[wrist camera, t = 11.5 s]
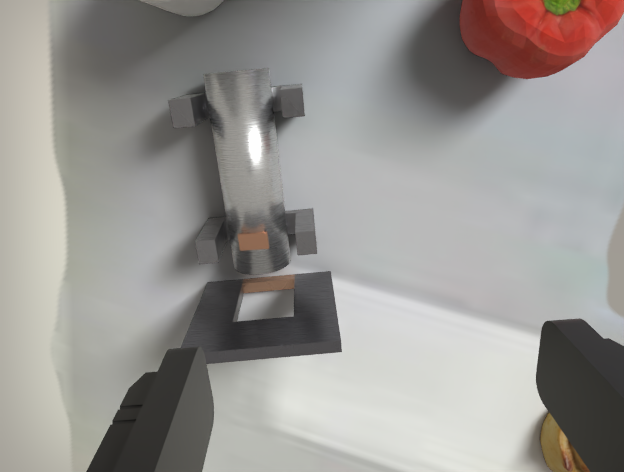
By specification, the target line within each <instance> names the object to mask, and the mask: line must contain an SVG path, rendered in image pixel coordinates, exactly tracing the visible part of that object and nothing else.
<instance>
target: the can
mask: <svg viewBox="0 0 624 472" xmlns="http://www.w3.org/2000/svg"><path fill="white" fill-rule="evenodd" d="M139 1H142V2H145V3H147V4H150V5H153V6H155V7H158V8H161V9H163V10H166V11H169V12H172V13H175V14H178V15H182V16H185V17H186V16H201V15H203V14H206V13H208V12H210V11H212V10H214V9H216V8H217V7H218V6H219V5H220V4H221V3H222V2H223V1H224V0H139Z"/></svg>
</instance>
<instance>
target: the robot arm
mask: <svg viewBox="0 0 624 472" xmlns="http://www.w3.org/2000/svg"><path fill="white" fill-rule="evenodd" d="M536 384H537V389H538V393H539V396H540V398H541V400H542V402H543V404H544V405H545V407H546V408H547V410H548V411H549V413H550V414H551V416H552V417H553V418H554V420H555V421H556V423H557V424H558V426H559V427H560V429H561V430H562V431H563V433H564V434H565V436H566V437H567V439H568V440H569V442H570V443H571V445H572V446H573V447H574V449H575V450H576V452H577V453H578V455H579V456H580V458H581V459H582V461H583V462H584V463H585V465H586V466H587V468H588V469H589V471H590V472H624V346H622V345H620V344H618V343H617V342H615V341H613V340H611V339H609V338H608V339H603V338H602V337H601V336H600V335H599V334H598V333H597V332H596V331H595V330H594V329H593V328H592V327H591V326H590V325H589V324H588V323H587V322H585V321H584V320H582V319H567V320H554V321H546V322H545V323H544V324H543V327H542V331H541V339H540V347H539V355H538V364H537V372H536ZM213 420H214V403H213V396H212V391H211V386H210V381H209V375H208V370H207V365H206V360H205V355H204V351H203V349H202V347H190V348H177V349H169V350H168V351H167V352H166V354H165V357H164V359H163V361H162V363H161V366H160V368H159V370H158V372H148V373H145V374H144V375H143V376H142V377H141V378H140V379H139V380H138V381H137V382H135V383H134V384H133V385H132V386H131V387H130V388H129V390H128V392H127V394H126V396H125V398H124V399H123V401H122V403H121V405H120V410H118V411H117V413H116V415H115V417H114V419H113V424H112V425H110V427H109V429H108V431H107V433H106V435H105V437H104V438H103V440H102V442H101V444H100V446H99V448H98V450H97V452H96V454H95V456H94V458H93V460H92V462H91V464H90V466H89V468H88V470H87V472H202V469H203V465H204V461H205V457H206V452H207V448H208V444H209V440H210V436H211V431H212V427H213Z"/></svg>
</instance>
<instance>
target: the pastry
mask: <svg viewBox="0 0 624 472" xmlns="http://www.w3.org/2000/svg"><path fill="white" fill-rule="evenodd" d="M540 442H541V447H542V451H543V455H544V459H545V461H546V464H547V466H548V467H549V468H550V469H551V470H552V471H553V472H590V471H589V469H588V468H587V466H586V465H585V463H584V462H583V461H582V459H581V458H580V456H579V455H578V453H577V452H576V450H575V449H574V447H573V446H572V445H571V443H570V442H569V440H568V439H567V437H566V436H565V434H564V433H563V431H562V430H561V429H560V427H559V426H558V424H557V423H556V421H555V420H554V418H553V417H552V416H551V414H550V413H548V415H547V416H546V418H545V420H544V422H543V425H542V430H541V436H540Z"/></svg>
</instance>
